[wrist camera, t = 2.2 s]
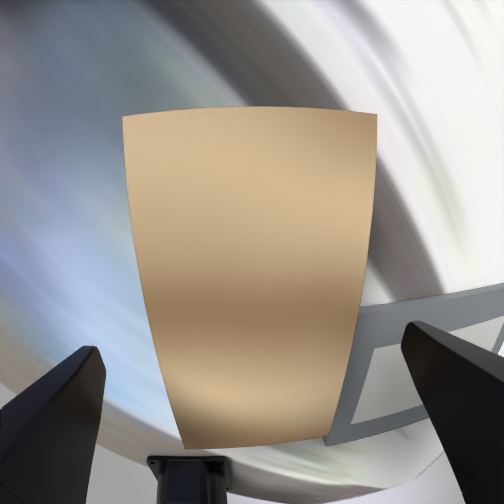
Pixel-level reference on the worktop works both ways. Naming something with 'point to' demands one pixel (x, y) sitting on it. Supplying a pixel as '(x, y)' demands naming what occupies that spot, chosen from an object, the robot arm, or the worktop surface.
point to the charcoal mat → (393, 363)
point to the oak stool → (251, 262)
